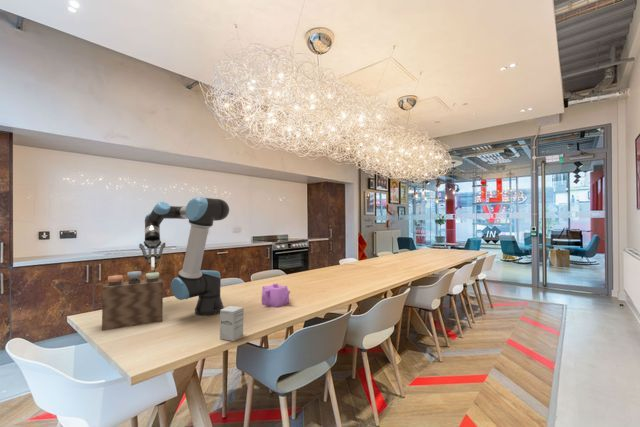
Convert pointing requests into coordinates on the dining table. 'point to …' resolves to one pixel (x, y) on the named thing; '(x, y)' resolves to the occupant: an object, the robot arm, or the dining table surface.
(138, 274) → the slate button
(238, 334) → the supplement box
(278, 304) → the teakettle
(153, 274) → the sage button
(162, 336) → the dining table surface
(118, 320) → the button console
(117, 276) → the terracotta button
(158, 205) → the robot arm
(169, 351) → the dining table surface
